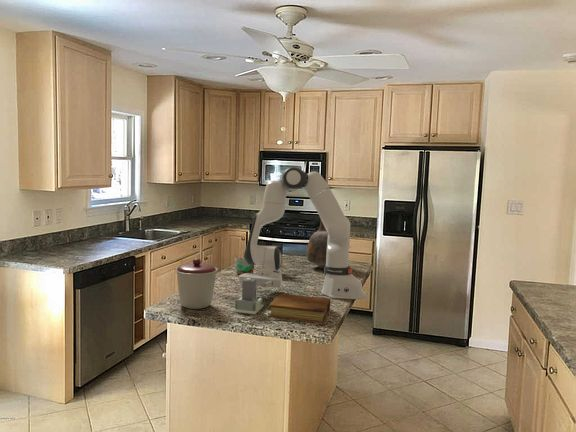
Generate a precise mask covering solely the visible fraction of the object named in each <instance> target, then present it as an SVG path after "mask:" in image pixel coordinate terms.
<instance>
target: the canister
mask: <svg viewBox="0 0 576 432" xmlns="http://www.w3.org/2000/svg"><path fill="white" fill-rule="evenodd" d="M217 271H219V269H218V268H217V267H216V266H214V265H212V264H210V263H204V262H202V260H201V259H200V258H194V259H193V260H192V263H191V262H189V263H184V264H181V265H179V266H177V267H176V268H175V272H176V276H177V277H176V279H177V288H178V296H179V303H180V304H181V306H182V307H183V308H187V309H189V310H190V309H191V310H201V309H205V308H208V307H209V306H210V305H211V303H212V301H213V297H214V291H215V284H216V275H217Z"/></svg>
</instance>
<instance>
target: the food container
mask: <svg viewBox="0 0 576 432" xmlns="http://www.w3.org/2000/svg"><path fill="white" fill-rule="evenodd" d="M234 262H235V264H236V265H235V266H236V276H238V277H239V275H241V274H244V273H250V274H254V269H255V265H249V264H248V263H247V262H246V261H245V259H244V257H243V258H240V257H238V256H236V257H235V259H234Z"/></svg>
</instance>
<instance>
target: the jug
mask: <svg viewBox="0 0 576 432" xmlns="http://www.w3.org/2000/svg"><path fill="white" fill-rule="evenodd" d="M327 240H328V232H327V231H326V229H325V227H324V225H323V223H322V220H321V219H320V222H319V227H318V230H317V231H315V232H313V234H312V235H311V236H310V238H309V240H308V242H307V243H308V244H307V245H306V246H307V248H306V259H307V261H308V262H309V263H311V264H314V265H316V266H318V267H319V268H321V269H323V270H325V265H326V252H327Z"/></svg>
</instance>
